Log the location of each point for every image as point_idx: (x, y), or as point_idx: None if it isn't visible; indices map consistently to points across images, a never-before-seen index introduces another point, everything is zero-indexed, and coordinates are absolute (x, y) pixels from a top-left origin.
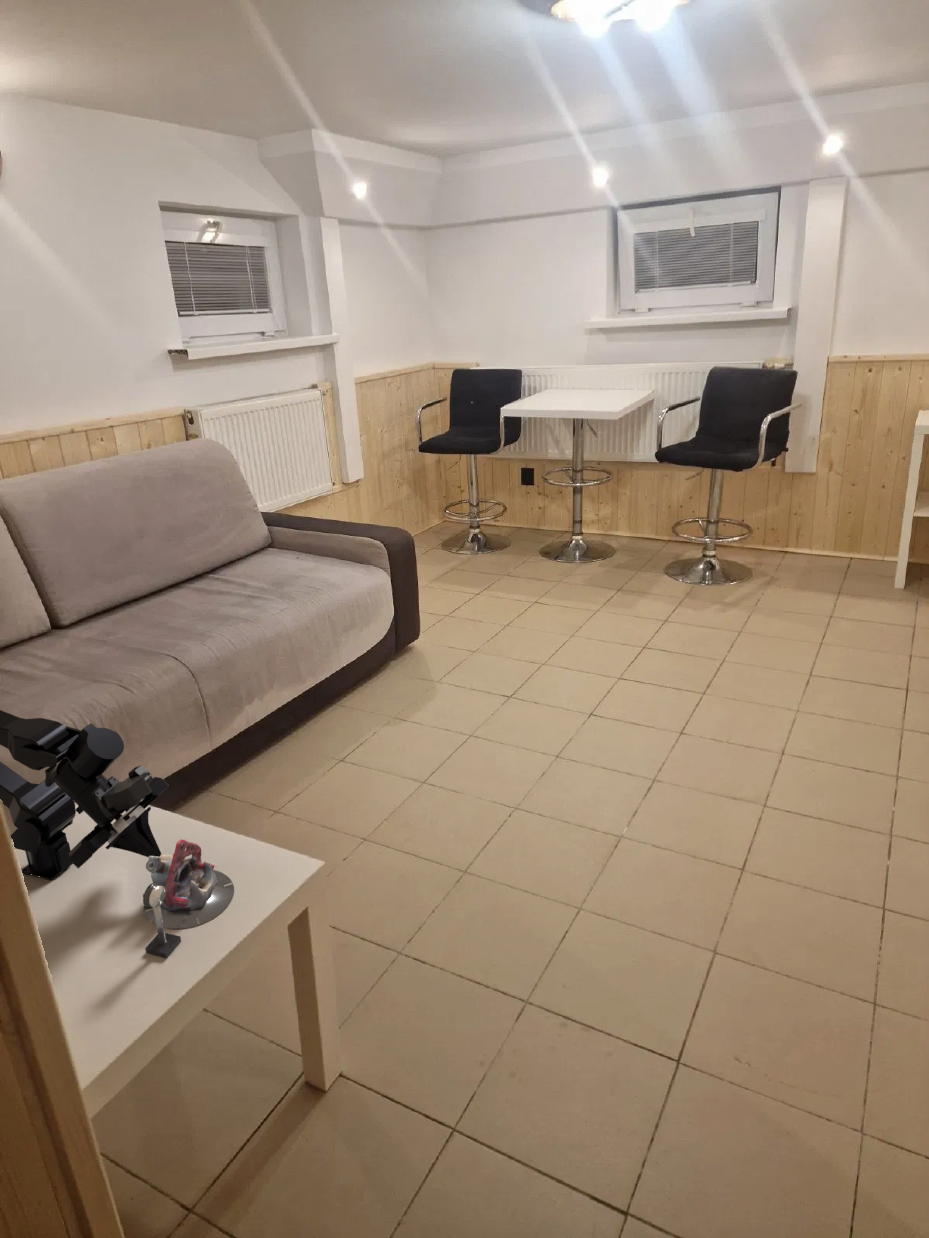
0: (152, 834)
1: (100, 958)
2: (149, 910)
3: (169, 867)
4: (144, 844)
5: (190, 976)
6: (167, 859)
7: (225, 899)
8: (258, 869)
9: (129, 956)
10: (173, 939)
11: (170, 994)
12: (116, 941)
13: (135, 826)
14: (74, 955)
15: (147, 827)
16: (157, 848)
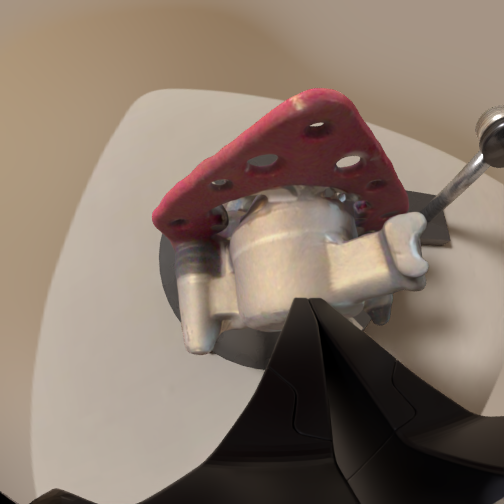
0: (272, 367)
1: (476, 322)
2: (356, 320)
3: (345, 220)
4: (383, 353)
5: (431, 154)
6: (315, 248)
7: (258, 165)
8: (147, 153)
9: (457, 272)
10: (412, 199)
11: (461, 168)
12: (445, 327)
13: (463, 457)
14: (482, 375)
15: (269, 427)
16: (300, 313)
